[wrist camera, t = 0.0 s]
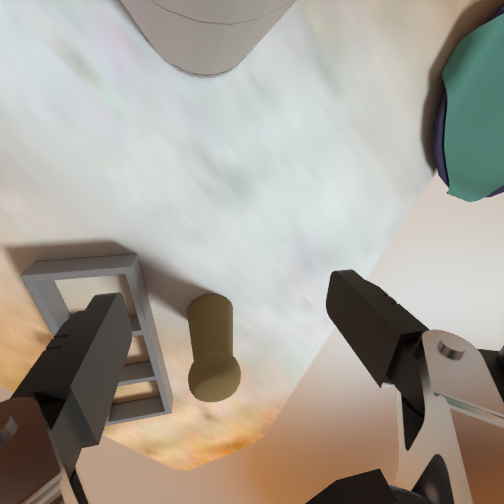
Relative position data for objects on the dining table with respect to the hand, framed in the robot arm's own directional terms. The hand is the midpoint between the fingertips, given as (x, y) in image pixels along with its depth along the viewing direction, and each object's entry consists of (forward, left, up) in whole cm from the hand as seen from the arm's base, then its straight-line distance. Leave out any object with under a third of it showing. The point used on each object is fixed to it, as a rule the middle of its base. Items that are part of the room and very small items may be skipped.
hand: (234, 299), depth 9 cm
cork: (+17, -1, -17) cm, 24 cm away
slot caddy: (+21, -13, -17) cm, 30 cm away
